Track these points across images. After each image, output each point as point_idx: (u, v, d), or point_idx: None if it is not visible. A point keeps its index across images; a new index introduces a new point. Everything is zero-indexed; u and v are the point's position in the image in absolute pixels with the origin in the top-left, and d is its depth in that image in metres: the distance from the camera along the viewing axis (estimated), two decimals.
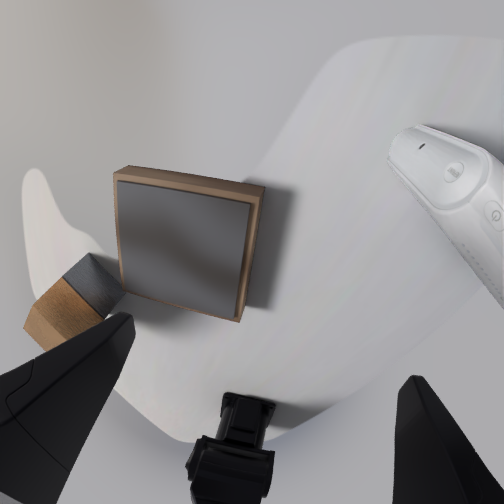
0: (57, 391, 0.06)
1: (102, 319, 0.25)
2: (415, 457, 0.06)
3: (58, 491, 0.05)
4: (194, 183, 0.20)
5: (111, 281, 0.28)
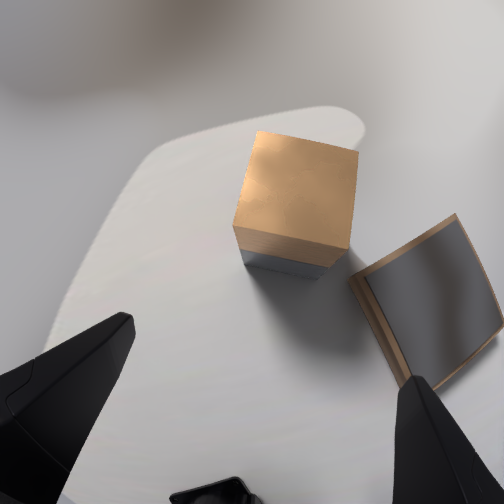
0: (57, 391, 0.06)
1: None
2: (415, 457, 0.06)
3: (58, 491, 0.05)
4: (485, 280, 0.20)
5: None
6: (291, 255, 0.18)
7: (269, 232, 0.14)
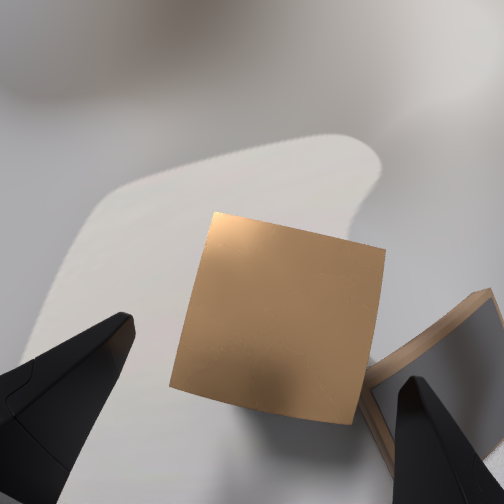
0: (57, 391, 0.06)
1: None
2: (415, 457, 0.06)
3: (58, 491, 0.05)
4: None
5: None
6: None
7: (226, 402, 0.08)
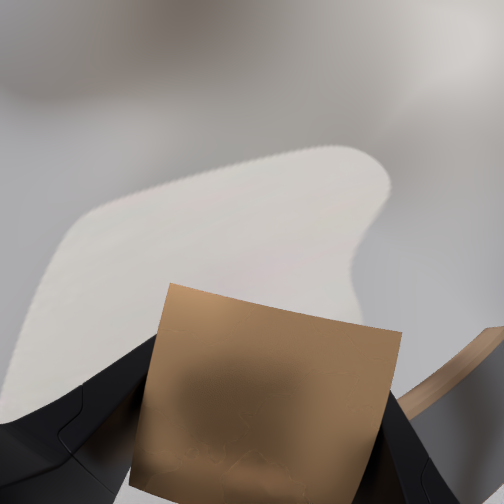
0: (113, 419, 0.05)
1: None
2: None
3: None
4: None
5: None
6: None
7: None
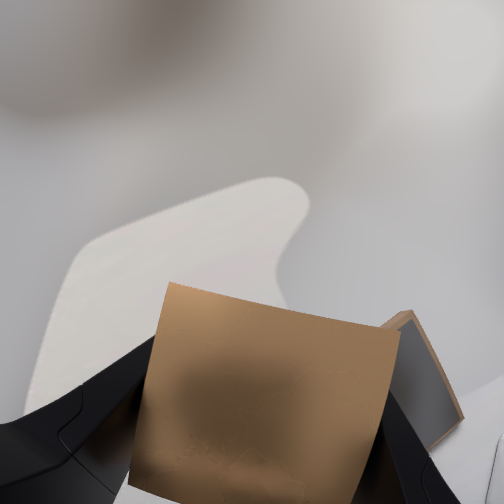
0: (113, 419, 0.05)
1: None
2: None
3: None
4: (444, 377, 0.18)
5: None
6: None
7: None
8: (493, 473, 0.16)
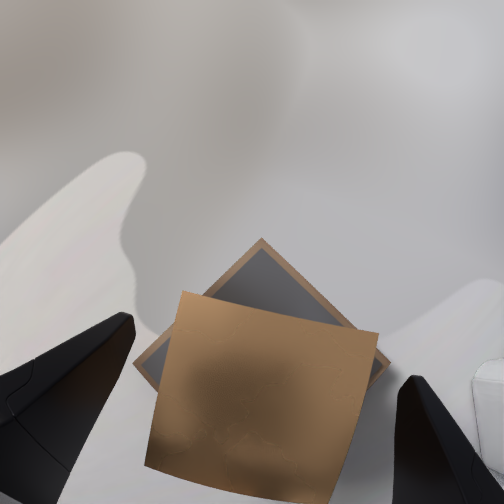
0: (57, 391, 0.06)
1: None
2: (415, 457, 0.06)
3: (58, 491, 0.05)
4: (338, 313, 0.17)
5: None
6: None
7: (201, 483, 0.07)
8: (478, 425, 0.16)
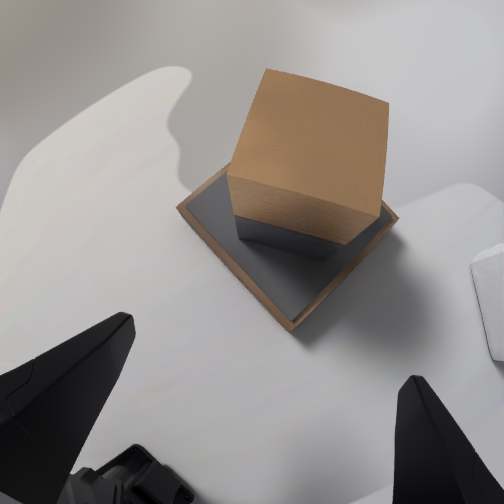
0: (57, 391, 0.06)
1: None
2: (415, 457, 0.06)
3: (58, 491, 0.05)
4: None
5: None
6: (299, 225, 0.14)
7: (275, 187, 0.10)
8: (482, 310, 0.20)
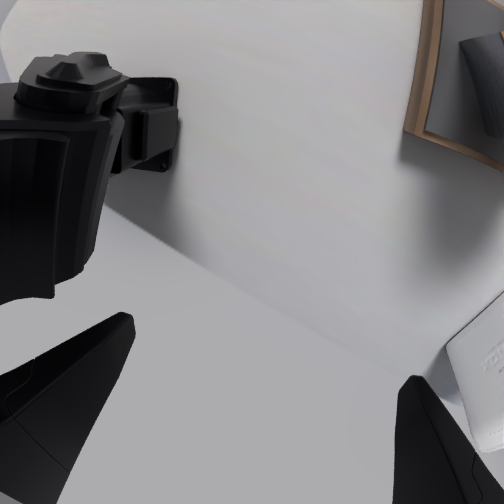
0: (57, 391, 0.06)
1: None
2: (415, 457, 0.06)
3: (58, 491, 0.05)
4: None
5: None
6: None
7: None
8: (484, 312, 0.20)
